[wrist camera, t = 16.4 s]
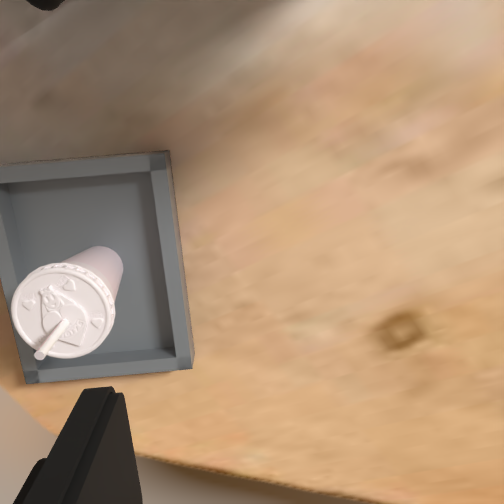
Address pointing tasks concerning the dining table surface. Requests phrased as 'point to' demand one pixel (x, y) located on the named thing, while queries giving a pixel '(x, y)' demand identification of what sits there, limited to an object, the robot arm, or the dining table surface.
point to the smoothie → (68, 304)
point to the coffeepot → (46, 4)
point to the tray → (108, 235)
